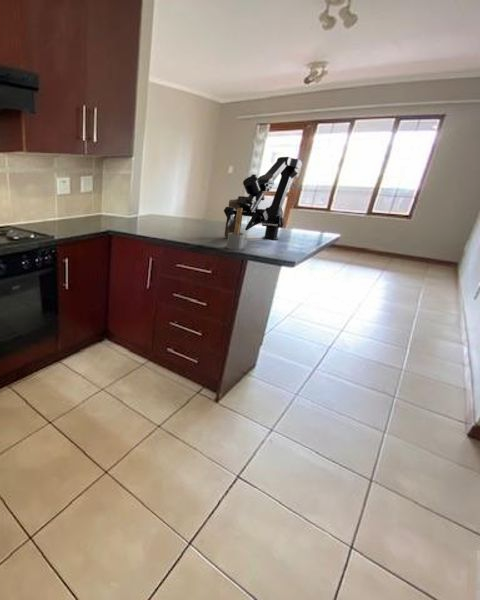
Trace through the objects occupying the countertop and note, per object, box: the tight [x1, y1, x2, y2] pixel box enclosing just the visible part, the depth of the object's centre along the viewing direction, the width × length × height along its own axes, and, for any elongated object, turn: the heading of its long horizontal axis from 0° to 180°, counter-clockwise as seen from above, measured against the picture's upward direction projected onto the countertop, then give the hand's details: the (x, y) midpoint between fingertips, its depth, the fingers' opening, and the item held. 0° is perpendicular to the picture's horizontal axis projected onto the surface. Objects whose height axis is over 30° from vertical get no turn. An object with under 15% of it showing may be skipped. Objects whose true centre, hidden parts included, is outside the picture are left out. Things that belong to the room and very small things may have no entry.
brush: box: [234, 208, 243, 235], centre depth 152 cm, size 3×3×18 cm
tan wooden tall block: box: [223, 198, 243, 239], centre depth 172 cm, size 8×7×20 cm
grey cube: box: [226, 232, 246, 251], centre depth 154 cm, size 7×7×7 cm
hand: (235, 228), depth 151 cm, fingers open, 9 cm apart
